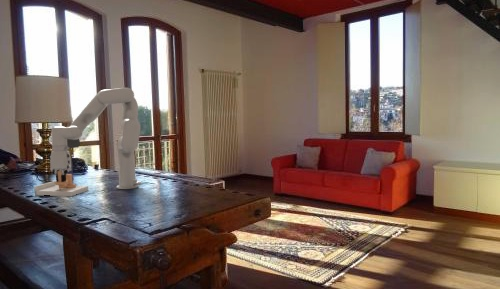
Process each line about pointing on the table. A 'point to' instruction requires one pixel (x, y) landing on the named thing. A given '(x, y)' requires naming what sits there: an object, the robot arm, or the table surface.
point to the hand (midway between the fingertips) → (61, 181)
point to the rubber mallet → (70, 144)
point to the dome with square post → (61, 184)
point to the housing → (55, 191)
